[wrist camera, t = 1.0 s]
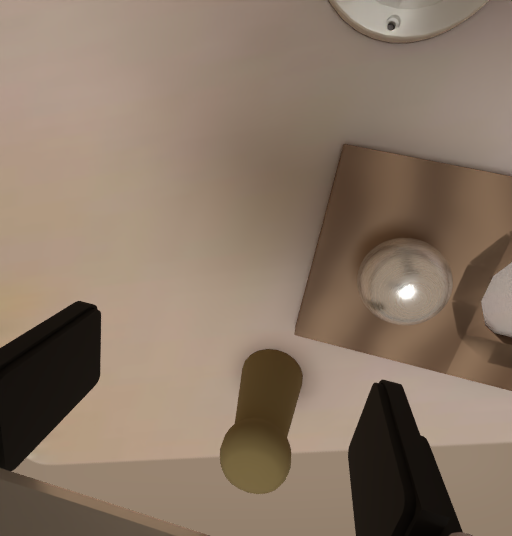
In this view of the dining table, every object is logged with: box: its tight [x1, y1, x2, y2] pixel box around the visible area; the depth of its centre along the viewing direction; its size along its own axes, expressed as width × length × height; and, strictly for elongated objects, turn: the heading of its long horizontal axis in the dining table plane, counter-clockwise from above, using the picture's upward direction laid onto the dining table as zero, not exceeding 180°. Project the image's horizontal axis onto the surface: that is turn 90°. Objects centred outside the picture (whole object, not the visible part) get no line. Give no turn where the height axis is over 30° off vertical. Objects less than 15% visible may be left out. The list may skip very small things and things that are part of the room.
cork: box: [220, 349, 303, 494], centre depth 28 cm, size 6×6×11 cm
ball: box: [357, 238, 453, 325], centre depth 23 cm, size 6×6×6 cm
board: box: [295, 144, 512, 391], centre depth 26 cm, size 24×16×2 cm, turn 79°
